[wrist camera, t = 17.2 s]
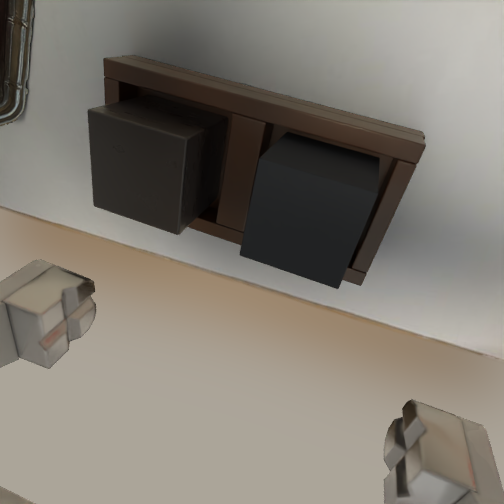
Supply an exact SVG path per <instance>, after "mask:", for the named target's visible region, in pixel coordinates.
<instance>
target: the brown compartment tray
mask: <svg viewBox="0 0 504 504" xmlns="http://www.w3.org/2000/svg"><path fill="white" fill-rule="evenodd" d="M103 60H104V76H105V78H104V87H105V105H104V106H100V107H96V108H92V109H88V124H89V140H90V155H91V171H92V186H93V202H94V206H95V207H98V208H101V209H104V210H107V211H110V212H112V213H115V214H118V215H121V216H124V217H127V218H130V219H133V220H136V221H138V222H141V223H144V224H147V225H150V226H153V227H156V228H159V229H162V230H165V231H167V232H170V233H173V234H176V235H179V234H180V233H181V232H182V231H183V230H184V229H185V228H186V227H189V228H192V229H195V230H198V231H201V232H204V233H207V234H210V235H213V236H216V237H218V238H221V239H224V240H227V241H230V242H233V243H236V244H239V245H242V240H243V235H244V230H245V225H246V220H247V215H248V211H249V206H250V201H251V196H252V191H253V186H254V181H255V176H256V172H257V167H258V162H259V158H260V157H261V156H262V155H263V154H264V153H265V152H266V151H268V150H269V149H270V148H271V147H272V146H273V145H274V144H275V143H276V142H277V141H278V140H279V139H280V138H281V137H282V136H283V135H284V134H285V133H286V132H290V133H293V134H297V135H301V136H304V137H308V138H311V139H315V140H318V141H322V142H325V143H329V144H333V145H336V146H340V147H343V148H347V149H350V150H354V151H357V152H361V153H365V154H368V155H372V156H375V157H379V158H380V166H379V185H378V196H377V198H376V200H375V203H374V205H373V208H372V210H371V212H370V215H369V217H368V219H367V222H366V224H365V227H364V229H363V231H362V234H361V236H360V239H359V241H358V243H357V246H356V248H355V250H354V253H353V255H352V258H351V260H350V262H349V265H348V267H347V270H346V272H345V274H344V277H343V279H342V280H345V281H348V282H351V283H354V284H357V285H360V286H361V285H362V283H363V281H364V279H365V277H366V274H367V272H368V270H369V268H370V266H371V263H372V261H373V259H374V257H375V255H376V253H377V250H378V248H379V246H380V244H381V242H382V240H383V237H384V235H385V233H386V231H387V229H388V227H389V224H390V222H391V220H392V218H393V216H394V214H395V211H396V209H397V207H398V205H399V203H400V201H401V199H402V196H403V194H404V192H405V190H406V188H407V186H408V183H409V181H410V179H411V177H412V175H413V173H414V170H415V168H416V164H417V163H418V162H419V160H420V158H421V156H422V153H423V151H424V149H425V147H426V145H425V142H424V139H425V136H424V133H423V132H421V131H417V130H413V129H410V128H406V127H402V126H398V125H395V124H391V123H387V122H383V121H379V120H376V119H372V118H368V117H364V116H361V115H357V114H353V113H349V112H346V111H342V110H338V109H334V108H330V107H327V106H323V105H319V104H315V103H312V102H308V101H304V100H300V99H297V98H293V97H289V96H285V95H281V94H278V93H274V92H270V91H266V90H263V89H259V88H255V87H251V86H248V85H244V84H240V83H236V82H232V81H229V80H225V79H221V78H217V77H214V76H210V75H206V74H202V73H199V72H195V71H191V70H187V69H184V68H180V67H176V66H172V65H168V64H165V63H161V62H157V61H153V60H150V59H146V58H142V57H138V56H135V55H128V56H122V57H110V58H104V59H103Z"/></svg>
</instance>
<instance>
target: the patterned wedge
mask: <svg viewBox="0 0 504 504" xmlns="http://www.w3.org/2000/svg"><path fill="white" fill-rule="evenodd" d="M32 18H34V8H33V0H0V126H2V125H5V124H7V125H8V124H9V123H13V121H16V119H17V117H18V116H20V113H23V110H24V104H25V103H26V102H25V96H26V94H28V89H25V87H26V86H25V84H26V80H27V79H28V72H29V51H30V42H31V37H32V35H31V34H32V30H31V27H32V26H33V24H32Z"/></svg>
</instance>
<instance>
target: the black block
mask: <svg viewBox="0 0 504 504" xmlns="http://www.w3.org/2000/svg"><path fill="white" fill-rule="evenodd" d="M379 166H380V158H379V157H375V156H372V155H368V154H365V153H361V152H357V151H354V150H350V149H347V148H343V147H340V146H336V145H333V144H329V143H325V142H322V141H318V140H315V139H311V138H308V137H304V136H301V135H297V134H293V133H290V132H286V133H285V134H284V135H283V136H282V137H281V138H280V139H279V140H278V141H277V142H276V143H275V144H274V145H273V146H272V147H271V148H270V149H269V150H268V151H266V152H265V153H264V154H263V155H262V156H261V157H260V158H259V162H258V167H257V172H256V176H255V181H254V186H253V191H252V196H251V201H250V206H249V211H248V215H247V220H246V225H245V230H244V235H243V240H242V245H241V250H240V255H241V256H243V257H246V258H249V259H252V260H255V261H258V262H261V263H264V264H267V265H270V266H272V267H275V268H278V269H281V270H284V271H287V272H290V273H293V274H296V275H299V276H301V277H304V278H307V279H310V280H313V281H316V282H319V283H322V284H325V285H328V286H330V287H333V288H336V289H338V288H339V286H340V284H341V281H342V279H343V277H344V274H345V272H346V270H347V267H348V265H349V262H350V260H351V258H352V255H353V253H354V250H355V248H356V246H357V243H358V241H359V239H360V236H361V234H362V231H363V229H364V227H365V224H366V222H367V219H368V217H369V215H370V212H371V210H372V208H373V205H374V203H375V200H376V198H377V196H378V185H379Z"/></svg>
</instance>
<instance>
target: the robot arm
mask: <svg viewBox="0 0 504 504" xmlns="http://www.w3.org/2000/svg"><path fill="white" fill-rule="evenodd" d="M94 292H95V286H94V281H92V280H91V279H89V278H86V277H84V276H81V275H79V274H76V273H73V272H71V271H69V270H66V269H64V268H61V267H59V266H56V265H53V264H51V263H48V262H46V261H44V260H35V261H33V262H31V263H29V264H28V265H26V266H25V267H23V268H21V269H20V270H18V271H17V272H15V273H14V274H12V275H10V276H9V277H7V278H6V279H4V280H2V281H1V282H0V367H3V366H5V365H7V364H10V363H12V362H14V361H16V360H18V359H19V358H22V359H24V360H27V361H30V362H32V363H35V364H37V365H40V366H42V367H45V368H48V369H50V368H51V367H52V366H53V365H54V364H55V363H56V362H57V361H58V360H59V359H60V358H61V357H62V356H63V355H64V354H65V353H66V352H67V351H68V350H69V342H70V341H72V340H75V339H78V338H81V337H82V336H83V335H84V334H85V333H86V332H87V331H88V330H89V328H90V326H91V324H92V323H93V321H94V318H95V314H96V304H95V302H94V301H93V299H92V298H91V295H92V294H93V293H94ZM402 410H403V417H401V418H398V419H395V420H394V421H393V422H392V424H391V425H390V427H389V429H388V432H387V435H386V438H385V445H384V461H385V463H386V465H387V466H388V468H389V470H390V473H389V474H388V475H387V477H386V478H385V479H384V504H504V491H503V488H502V484H501V481H500V477H499V474H498V470H497V466H496V463H495V460H494V456H493V452H492V448H491V445H490V441H489V438H488V434H487V431H486V429H485V428H484V427H483V426H482V425H481V424H478V423H475V422H472V421H470V420H467V419H464V418H462V417H458V416H456V415H454V414H451V413H448V412H445V411H443V410H440V409H437V408H434V407H432V406H429V405H426V404H424V403H421V402H418V401H415V400H410V401H408V402H407V403H406V404H405V405H404V407H403V408H402ZM0 504H35V503H33V502H31V501H29V500H27V499H25V498H23V497H21V496H19V495H17V494H15V493H13V492H11V491H9V490H7V489H5V488H3V487H0Z"/></svg>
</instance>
